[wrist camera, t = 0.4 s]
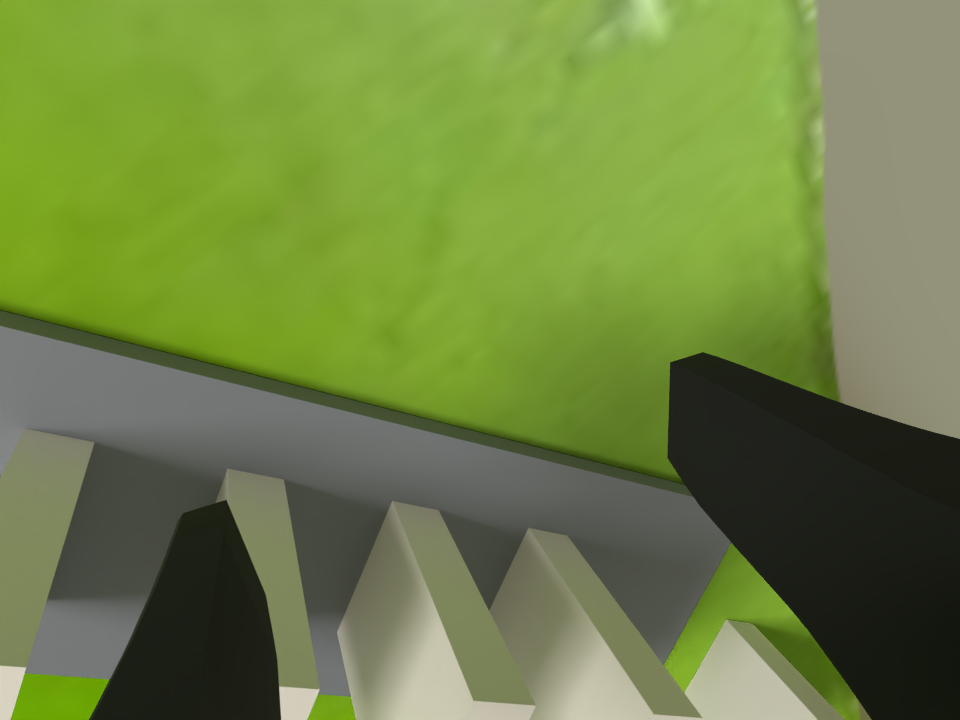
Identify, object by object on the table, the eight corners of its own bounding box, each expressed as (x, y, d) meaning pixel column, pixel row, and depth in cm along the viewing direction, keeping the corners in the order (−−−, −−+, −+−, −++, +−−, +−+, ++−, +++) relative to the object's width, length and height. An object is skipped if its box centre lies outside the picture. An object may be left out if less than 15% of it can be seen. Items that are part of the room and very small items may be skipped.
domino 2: (230, 621, 22) (239, 879, 15) (175, 614, 22) (158, 882, 15) (284, 479, 21) (319, 689, 14) (227, 468, 20) (236, 683, 13)
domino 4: (510, 651, 27) (617, 865, 20) (471, 647, 26) (568, 867, 19) (567, 535, 25) (702, 718, 18) (528, 527, 25) (653, 714, 18)
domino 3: (382, 637, 24) (451, 871, 17) (337, 632, 24) (389, 873, 17) (438, 509, 23) (536, 705, 16) (392, 500, 23) (473, 700, 16)
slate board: (622, 698, 31) (634, 716, 30) (-125, 634, 20) (-141, 661, 19) (732, 496, 29) (748, 510, 28) (-45, 298, 18) (-58, 311, 17)
